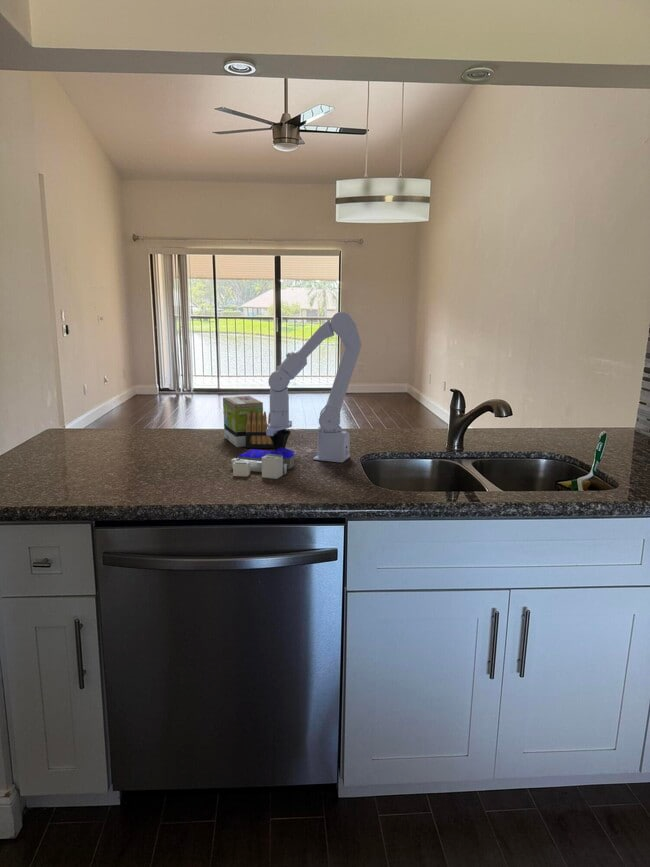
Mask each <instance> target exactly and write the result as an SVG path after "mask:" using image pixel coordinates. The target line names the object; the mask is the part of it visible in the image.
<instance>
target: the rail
mask: <svg viewBox="0 0 650 867" xmlns="http://www.w3.org/2000/svg"><path fill="white" fill-rule="evenodd" d="M235 461H248V462H250V472H251V471H252V472H256V473H257V472H259V473H262V461H258V460H248V459H240V458H238V457H237V458H236V457H234V458H232V459H231V460H230V462H231V469H232V470H233V463H234V462H235ZM287 470H288V469H287V464H285V463H283V475H282V476H285V475H286V474H287V472H288V471H287Z"/></svg>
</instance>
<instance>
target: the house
mask: <svg viewBox="0 0 650 867" xmlns="http://www.w3.org/2000/svg"><path fill="white" fill-rule="evenodd" d="M294 453H295V451H294V450H291V449H289V448H286V447H285V448H282V447H281V448H279V449H277V450H275V449H274V450H263V449H257V448H249V449H248V450H247V451H245V452H243V453H241V454H238V455H237V458H240V459H248V460H258V461H262V457H264V456H266V454H276V455H282V456H283V463H285V464H287V470H290V469H292V468H293V467H295V454H294Z"/></svg>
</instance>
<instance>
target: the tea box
mask: <svg viewBox="0 0 650 867" xmlns="http://www.w3.org/2000/svg"><path fill="white" fill-rule="evenodd" d="M222 407H223V408H222V410H223V411H222V412H223V413H222V414H223V428H224V429H223V432H224V433H223V434H224V439H226V440H227V441H229V442H230V443H231V444H232V445H233V446H235V448H241V447H245V446H246V423H247V414H248V411H249V412H250V417H251V432H252V416H253V412H254V411H255V414H256V424H257V420H258V413H259V411H260V413H261V422H262V423H263V414H264V402H262V401H260V400H258V399H257V398H254V397H252V396H250V395H242V396H230V397H229V396H228V397H222Z"/></svg>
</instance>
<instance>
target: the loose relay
mask: <svg viewBox="0 0 650 867" xmlns="http://www.w3.org/2000/svg"><path fill="white" fill-rule="evenodd" d="M232 474H233V475H232V476H233V477H249V475H250V474H251V471H250V462H248V461H235V462H234V463H233V469H232Z"/></svg>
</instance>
